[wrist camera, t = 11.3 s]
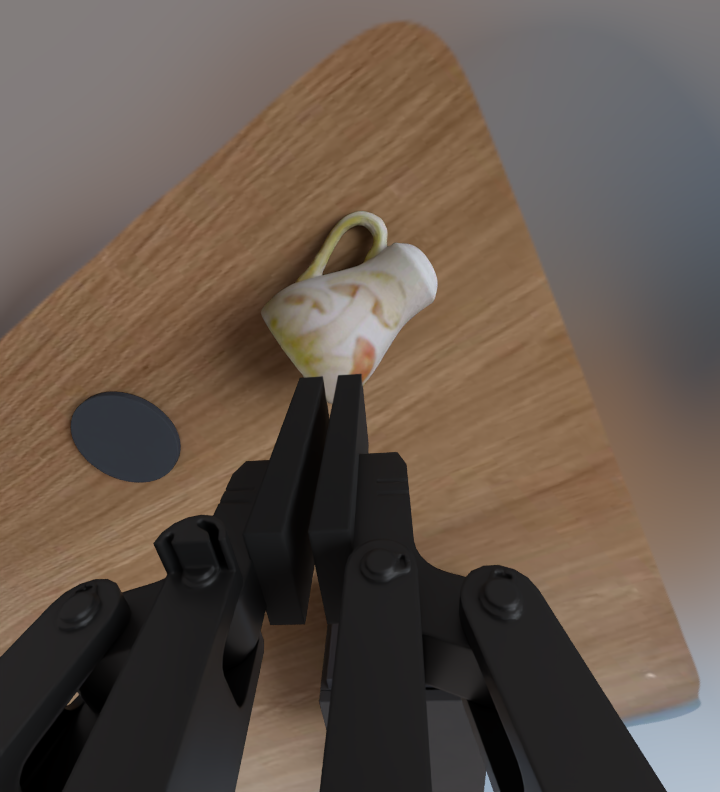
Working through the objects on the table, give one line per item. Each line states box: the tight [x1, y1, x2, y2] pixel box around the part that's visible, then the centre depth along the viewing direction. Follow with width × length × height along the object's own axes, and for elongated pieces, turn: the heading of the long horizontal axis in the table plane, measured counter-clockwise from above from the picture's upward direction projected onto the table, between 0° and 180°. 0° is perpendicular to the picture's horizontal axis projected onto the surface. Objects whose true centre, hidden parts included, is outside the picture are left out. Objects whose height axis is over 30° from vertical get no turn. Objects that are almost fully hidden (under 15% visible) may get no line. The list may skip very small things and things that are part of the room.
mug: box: [261, 211, 437, 404], centre depth 24 cm, size 8×10×10 cm
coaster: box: [71, 392, 181, 482], centre depth 32 cm, size 8×8×1 cm
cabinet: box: [319, 624, 486, 792], centre depth 39 cm, size 20×13×10 cm, turn 5°
